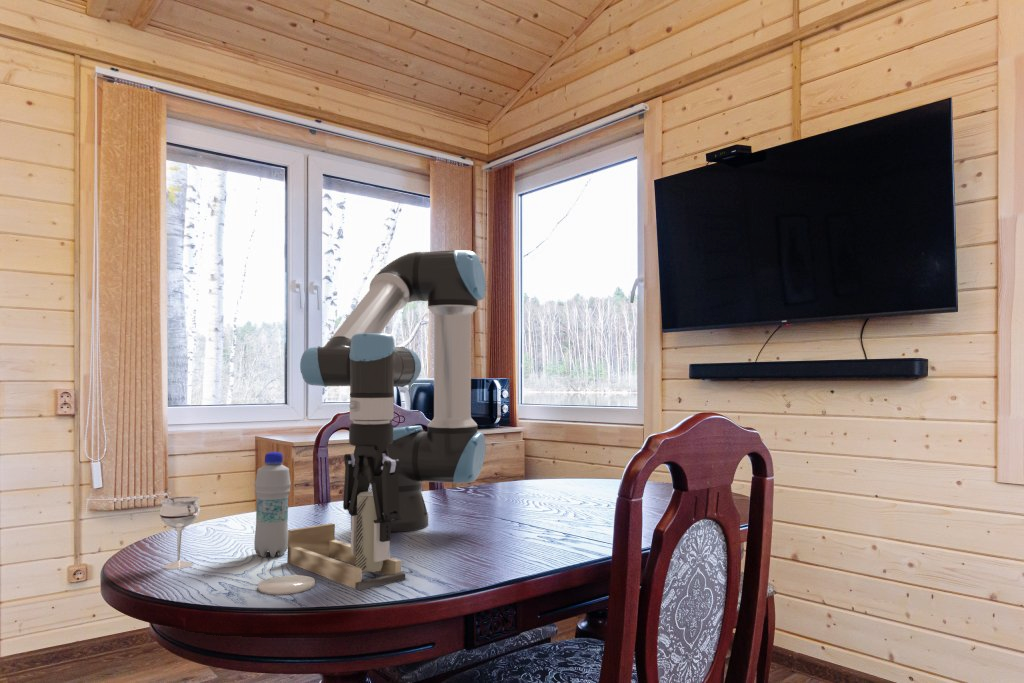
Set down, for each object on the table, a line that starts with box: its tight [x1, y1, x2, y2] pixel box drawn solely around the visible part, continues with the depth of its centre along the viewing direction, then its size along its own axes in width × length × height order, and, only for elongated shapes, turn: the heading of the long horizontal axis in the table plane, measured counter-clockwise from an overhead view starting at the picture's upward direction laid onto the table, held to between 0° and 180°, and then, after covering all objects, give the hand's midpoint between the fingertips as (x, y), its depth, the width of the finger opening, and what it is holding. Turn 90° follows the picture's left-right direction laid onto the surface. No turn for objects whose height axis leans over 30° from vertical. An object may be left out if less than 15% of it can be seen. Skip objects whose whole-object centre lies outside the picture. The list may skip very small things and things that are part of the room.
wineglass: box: [159, 496, 201, 570], centre depth 129 cm, size 7×7×12 cm
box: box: [354, 491, 383, 573], centre depth 121 cm, size 5×4×13 cm
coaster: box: [257, 574, 316, 596], centre depth 116 cm, size 9×9×1 cm
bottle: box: [253, 451, 292, 558], centre depth 138 cm, size 7×7×20 cm
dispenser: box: [287, 522, 406, 591], centre depth 126 cm, size 24×9×6 cm, turn 45°
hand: (369, 555), depth 121 cm, fingers closed on box, 6 cm apart
